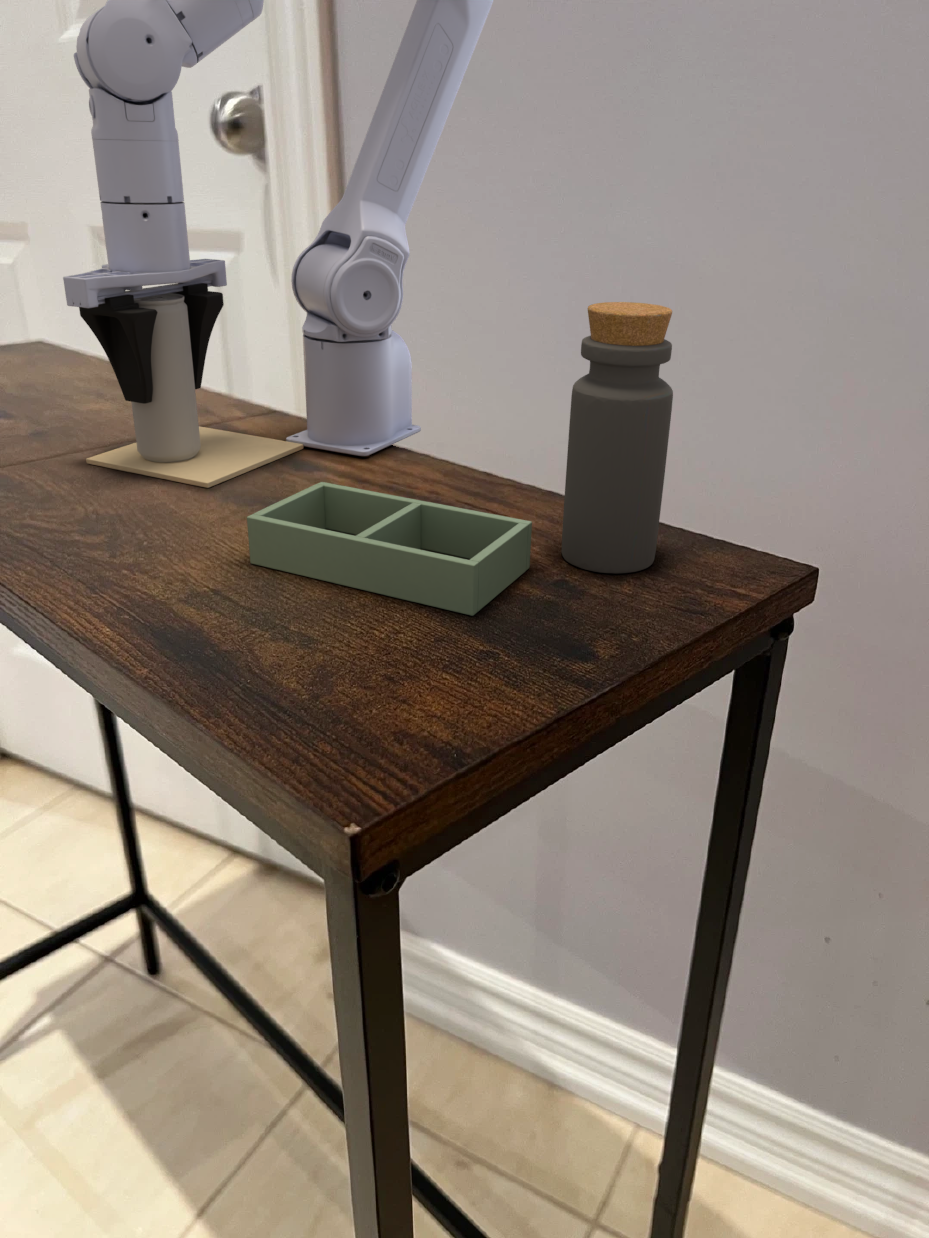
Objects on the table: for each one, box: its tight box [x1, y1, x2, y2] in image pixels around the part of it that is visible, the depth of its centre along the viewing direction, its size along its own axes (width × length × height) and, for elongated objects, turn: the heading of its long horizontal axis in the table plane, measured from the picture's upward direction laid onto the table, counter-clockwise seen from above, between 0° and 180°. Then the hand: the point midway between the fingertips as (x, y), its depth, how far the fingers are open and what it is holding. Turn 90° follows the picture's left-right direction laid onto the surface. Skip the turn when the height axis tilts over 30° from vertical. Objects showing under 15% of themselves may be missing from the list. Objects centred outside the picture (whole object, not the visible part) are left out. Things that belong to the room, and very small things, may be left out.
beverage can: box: [130, 293, 201, 463], centre depth 75 cm, size 5×5×12 cm
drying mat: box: [85, 425, 304, 489], centre depth 79 cm, size 12×12×1 cm
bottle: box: [561, 301, 674, 575], centre depth 58 cm, size 6×6×15 cm
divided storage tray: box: [246, 481, 533, 617], centre depth 59 cm, size 8×15×3 cm, turn 63°
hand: (164, 394), depth 76 cm, fingers closed on beverage can, 5 cm apart
